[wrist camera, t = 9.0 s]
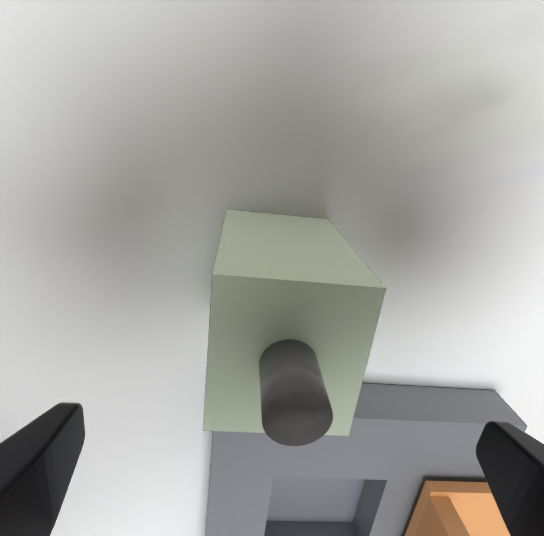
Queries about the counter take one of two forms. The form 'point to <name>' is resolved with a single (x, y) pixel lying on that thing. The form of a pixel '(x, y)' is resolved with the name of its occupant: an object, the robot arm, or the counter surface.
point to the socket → (352, 465)
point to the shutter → (456, 511)
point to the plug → (287, 328)
